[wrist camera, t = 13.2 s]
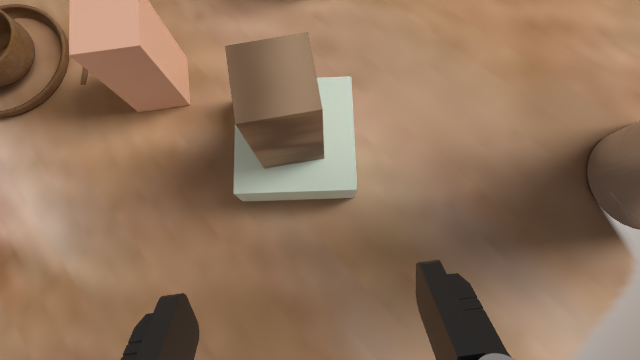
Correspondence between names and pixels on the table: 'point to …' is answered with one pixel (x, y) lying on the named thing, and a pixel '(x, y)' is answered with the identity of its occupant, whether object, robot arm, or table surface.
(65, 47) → the place setting
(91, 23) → the terracotta pillar
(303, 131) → the walnut pillar
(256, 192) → the sage base block
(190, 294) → the table surface
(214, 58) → the table surface
